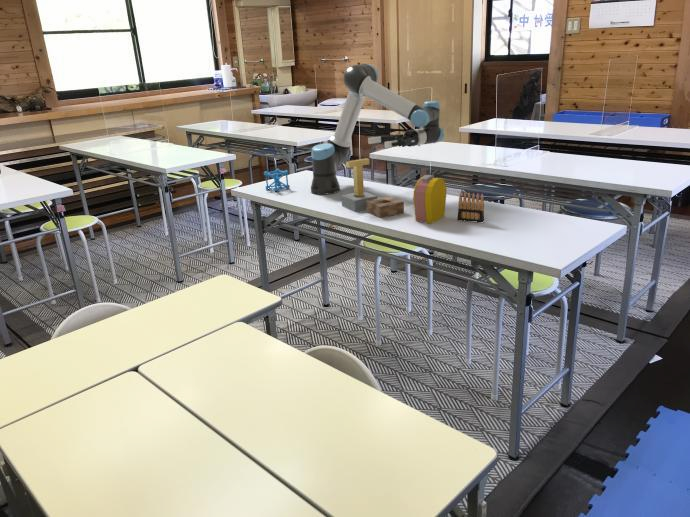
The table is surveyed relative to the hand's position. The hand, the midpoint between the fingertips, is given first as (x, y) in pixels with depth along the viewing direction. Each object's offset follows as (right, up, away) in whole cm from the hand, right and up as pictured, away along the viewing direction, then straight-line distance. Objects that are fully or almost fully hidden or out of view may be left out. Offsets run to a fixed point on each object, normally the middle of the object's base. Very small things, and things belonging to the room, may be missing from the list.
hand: (376, 143), depth 245 cm
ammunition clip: (+37, -37, -23) cm, 57 cm away
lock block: (+3, -32, -5) cm, 32 cm away
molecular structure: (-50, -15, +45) cm, 70 cm away
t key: (-8, -28, +6) cm, 30 cm away
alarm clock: (+21, -36, -17) cm, 45 cm away
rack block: (-8, -28, +6) cm, 30 cm away
